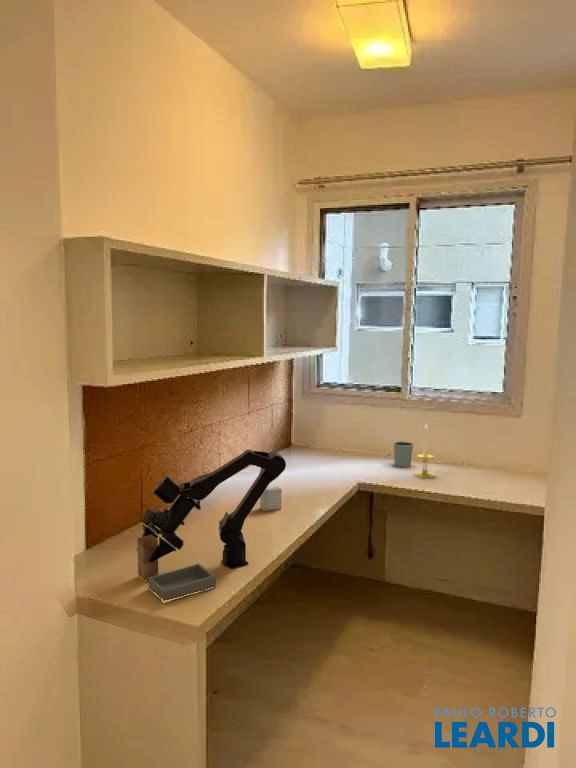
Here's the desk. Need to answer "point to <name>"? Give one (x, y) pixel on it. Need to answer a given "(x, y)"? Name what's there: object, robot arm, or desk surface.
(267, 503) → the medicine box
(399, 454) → the green cup
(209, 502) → the desk surface
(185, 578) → the tray
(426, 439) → the candle
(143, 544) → the walnut block
